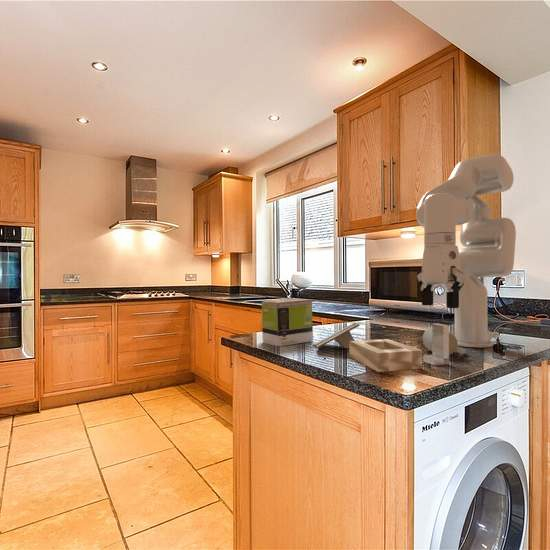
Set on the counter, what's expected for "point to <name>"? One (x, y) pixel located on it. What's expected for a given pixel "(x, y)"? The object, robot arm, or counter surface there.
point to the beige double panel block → (340, 337)
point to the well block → (385, 355)
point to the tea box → (287, 321)
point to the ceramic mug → (452, 342)
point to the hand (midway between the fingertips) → (439, 306)
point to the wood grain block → (439, 346)
